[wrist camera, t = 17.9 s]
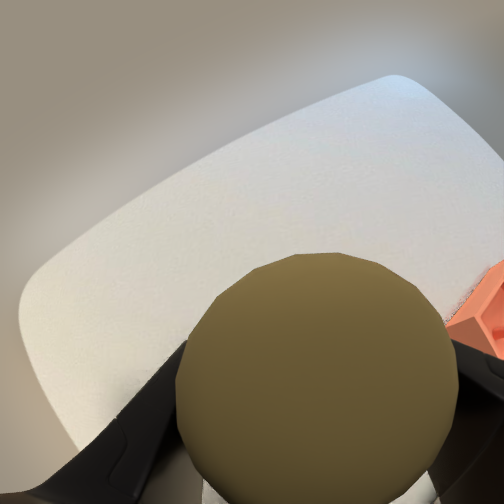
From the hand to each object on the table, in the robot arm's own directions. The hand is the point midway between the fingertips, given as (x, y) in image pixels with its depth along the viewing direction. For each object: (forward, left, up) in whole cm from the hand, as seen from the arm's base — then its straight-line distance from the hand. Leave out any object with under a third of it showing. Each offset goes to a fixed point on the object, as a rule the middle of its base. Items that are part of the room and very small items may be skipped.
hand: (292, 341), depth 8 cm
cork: (-1, -1, -7) cm, 7 cm away
